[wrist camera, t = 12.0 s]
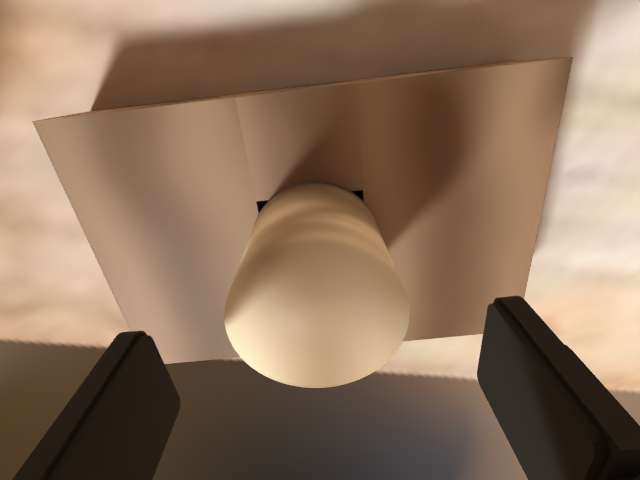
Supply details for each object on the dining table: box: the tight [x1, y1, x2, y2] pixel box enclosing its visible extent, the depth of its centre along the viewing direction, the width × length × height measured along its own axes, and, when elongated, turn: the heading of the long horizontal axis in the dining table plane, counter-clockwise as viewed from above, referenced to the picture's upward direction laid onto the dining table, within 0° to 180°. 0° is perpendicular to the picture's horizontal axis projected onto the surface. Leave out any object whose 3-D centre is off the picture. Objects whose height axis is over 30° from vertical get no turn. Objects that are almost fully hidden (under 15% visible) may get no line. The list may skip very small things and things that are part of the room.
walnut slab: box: [32, 57, 573, 364], centre depth 18 cm, size 22×14×4 cm, turn 96°
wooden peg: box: [224, 182, 410, 388], centre depth 16 cm, size 6×6×10 cm
